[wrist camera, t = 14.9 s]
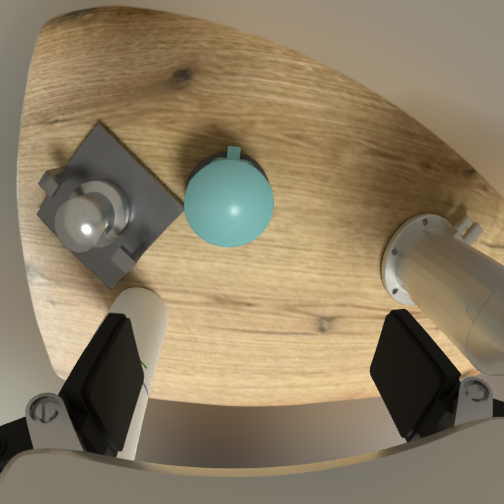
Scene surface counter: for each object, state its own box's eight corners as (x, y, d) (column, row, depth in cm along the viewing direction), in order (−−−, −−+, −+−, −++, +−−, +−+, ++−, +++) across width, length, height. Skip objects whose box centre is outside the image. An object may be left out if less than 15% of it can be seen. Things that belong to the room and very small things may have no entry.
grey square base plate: (41, 211, 28) (7, 229, 21) (102, 124, 25) (70, 121, 19) (114, 285, 32) (92, 316, 25) (186, 206, 29) (174, 225, 23)
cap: (196, 143, 26) (189, 142, 22) (272, 151, 27) (281, 152, 22) (188, 237, 30) (181, 255, 25) (259, 243, 31) (265, 262, 26)
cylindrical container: (125, 338, 34) (63, 510, 11) (107, 290, 32) (5, 466, 9) (176, 333, 35) (141, 530, 11) (160, 283, 32) (85, 494, 9)
